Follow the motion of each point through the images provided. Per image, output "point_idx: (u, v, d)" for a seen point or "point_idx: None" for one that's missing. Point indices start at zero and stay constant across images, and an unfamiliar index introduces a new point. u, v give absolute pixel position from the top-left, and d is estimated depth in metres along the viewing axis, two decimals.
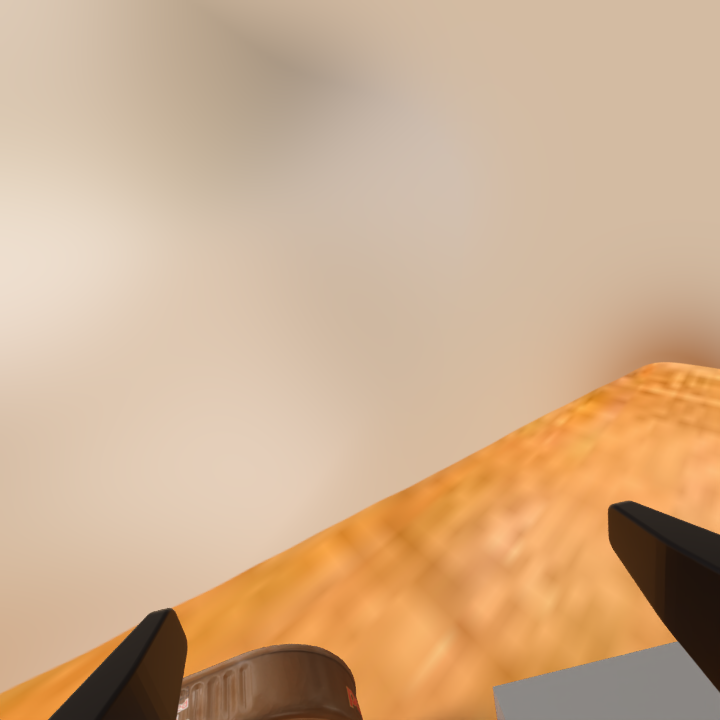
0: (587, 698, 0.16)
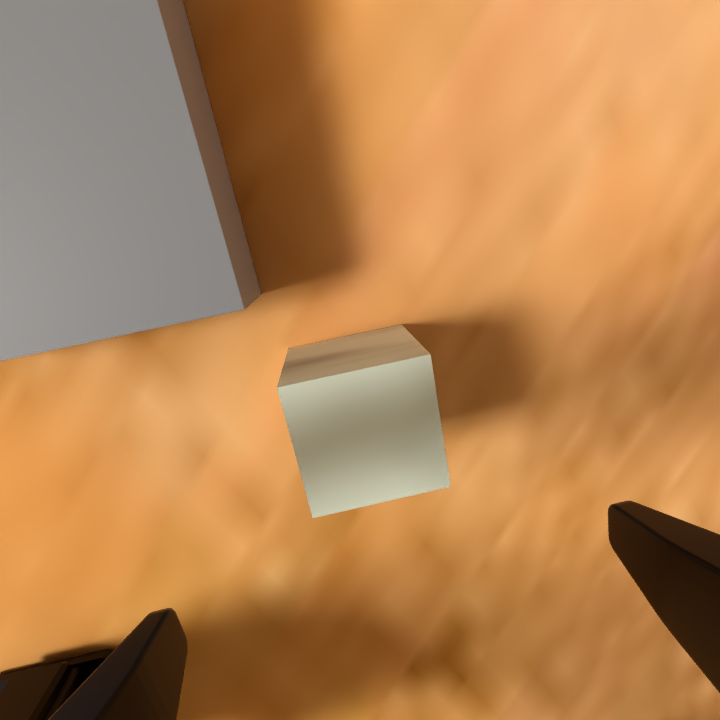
0: None
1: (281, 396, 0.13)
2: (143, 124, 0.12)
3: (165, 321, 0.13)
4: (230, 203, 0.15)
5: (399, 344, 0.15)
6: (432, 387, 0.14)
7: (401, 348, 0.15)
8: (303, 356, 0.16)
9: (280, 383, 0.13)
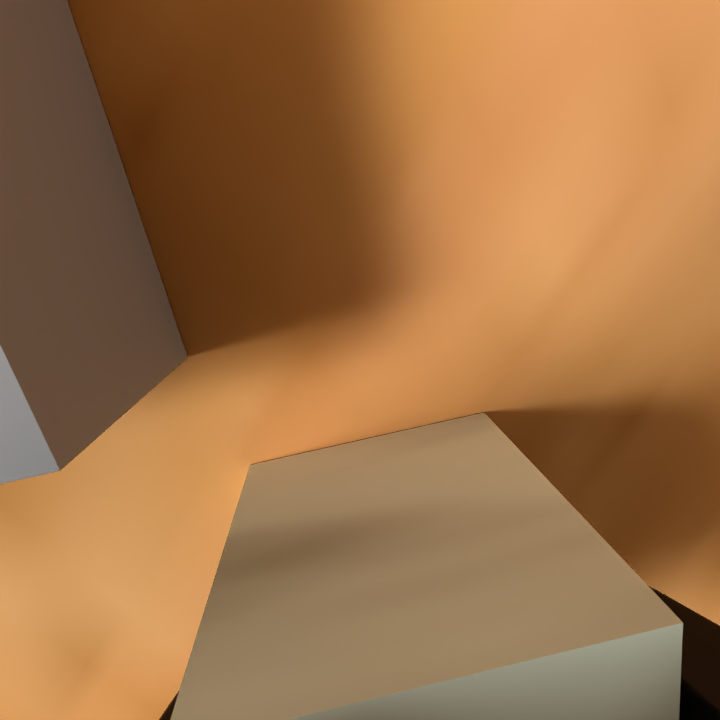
0: None
1: None
2: None
3: None
4: (72, 141, 0.05)
5: (523, 513, 0.06)
6: (670, 708, 0.04)
7: (540, 538, 0.05)
8: (274, 518, 0.07)
9: (181, 702, 0.04)
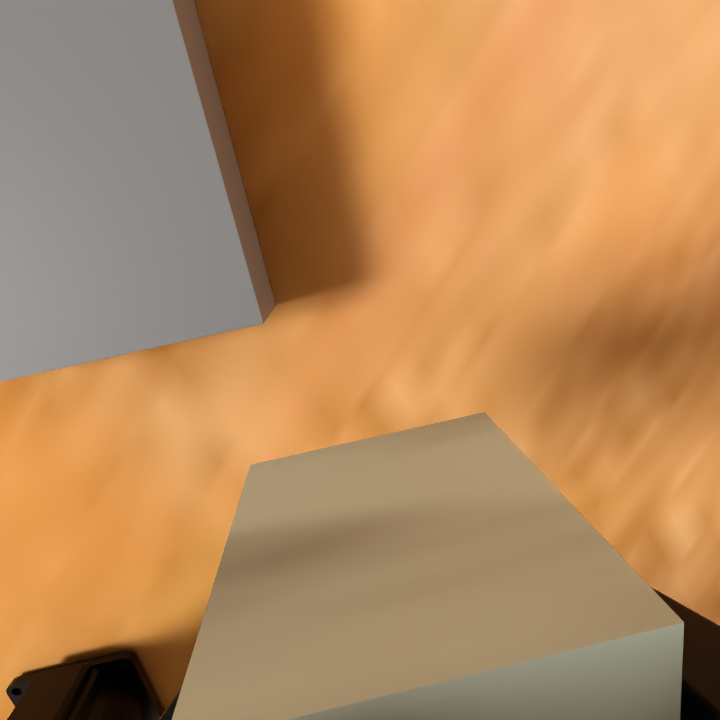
0: None
1: None
2: (167, 148, 0.12)
3: (187, 335, 0.14)
4: (247, 219, 0.15)
5: (523, 513, 0.06)
6: (671, 707, 0.04)
7: (541, 538, 0.05)
8: (275, 517, 0.07)
9: (182, 701, 0.04)
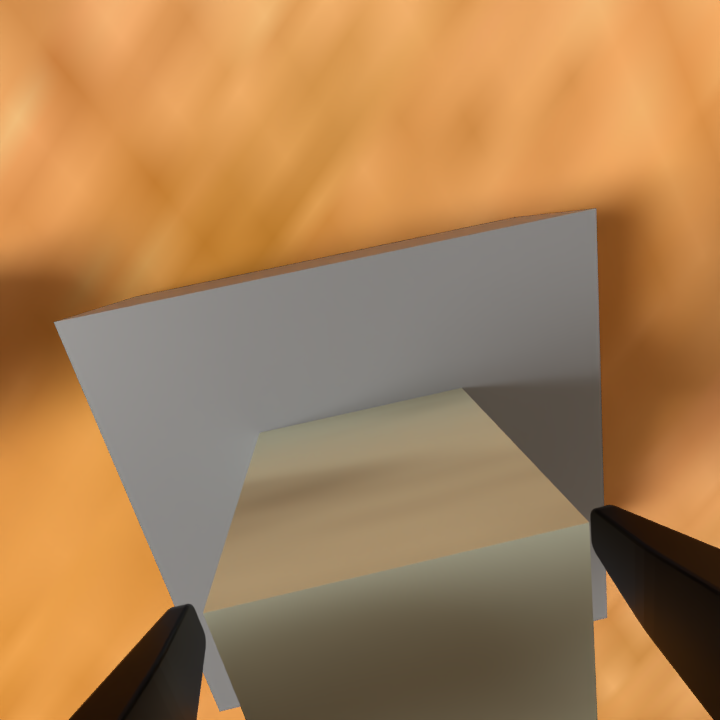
0: (227, 342, 0.09)
1: (215, 631, 0.05)
2: (556, 471, 0.11)
3: None
4: None
5: (483, 459, 0.07)
6: (584, 592, 0.06)
7: (495, 475, 0.07)
8: (282, 469, 0.08)
9: (216, 586, 0.06)
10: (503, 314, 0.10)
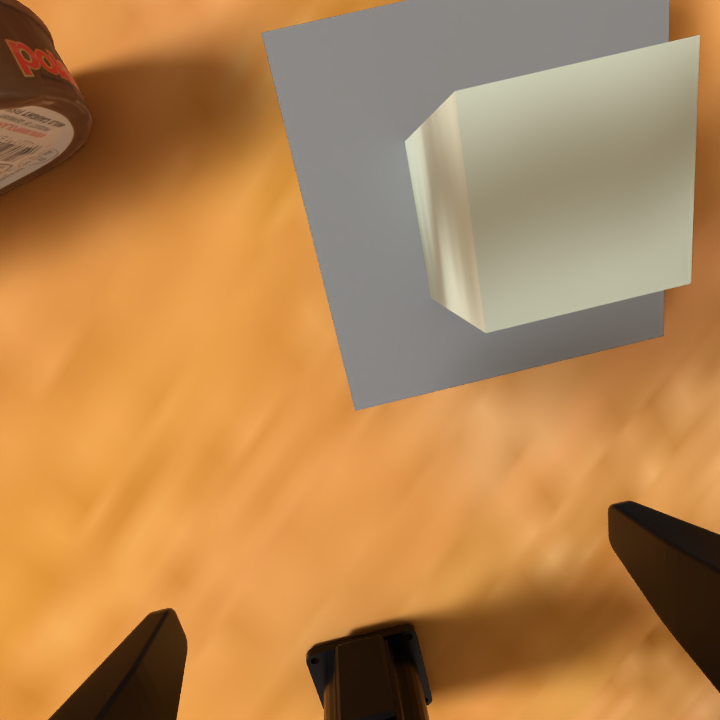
0: (387, 56, 0.12)
1: (460, 108, 0.08)
2: None
3: (599, 347, 0.16)
4: None
5: None
6: (692, 100, 0.09)
7: None
8: None
9: (452, 96, 0.08)
10: (595, 36, 0.12)
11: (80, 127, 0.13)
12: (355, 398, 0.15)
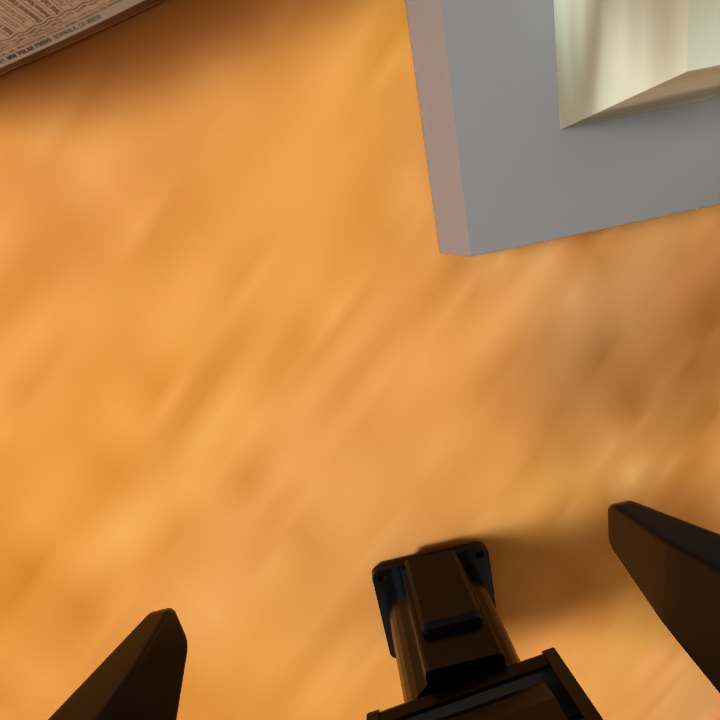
0: None
1: None
2: None
3: None
4: None
5: None
6: None
7: None
8: None
9: None
10: None
11: None
12: (472, 242, 0.15)
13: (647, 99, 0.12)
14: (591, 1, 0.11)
